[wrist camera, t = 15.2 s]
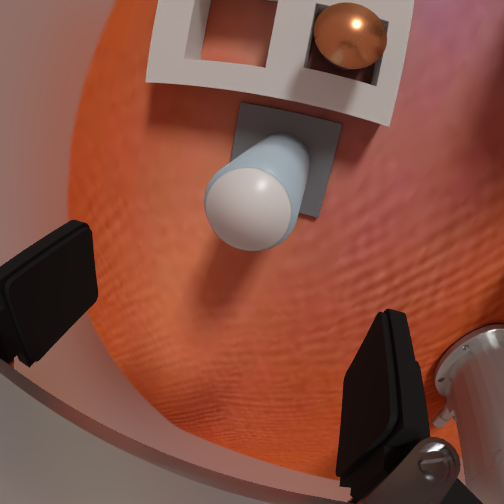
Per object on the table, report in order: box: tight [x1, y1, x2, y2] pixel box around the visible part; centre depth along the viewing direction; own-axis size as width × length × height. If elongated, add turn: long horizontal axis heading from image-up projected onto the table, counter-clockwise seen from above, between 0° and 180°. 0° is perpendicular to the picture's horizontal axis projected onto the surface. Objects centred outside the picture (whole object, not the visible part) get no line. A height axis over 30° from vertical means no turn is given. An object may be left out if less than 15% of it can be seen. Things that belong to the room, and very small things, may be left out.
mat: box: [231, 102, 342, 218], centre depth 25 cm, size 8×8×1 cm
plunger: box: [314, 2, 387, 70], centre depth 17 cm, size 4×4×6 cm
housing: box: [145, 0, 414, 127], centre depth 19 cm, size 10×18×3 cm, turn 79°
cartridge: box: [204, 133, 311, 251], centre depth 20 cm, size 5×5×12 cm
